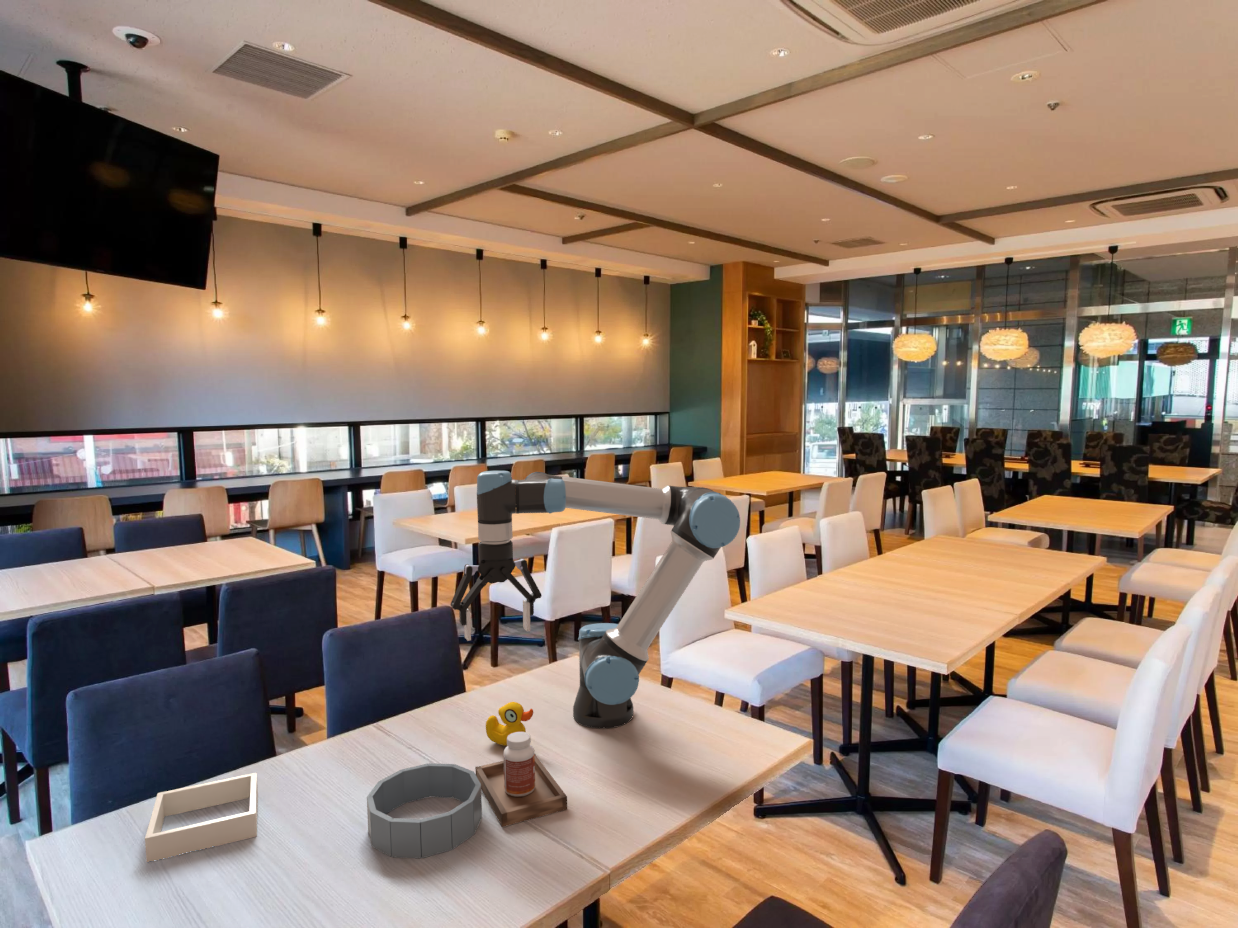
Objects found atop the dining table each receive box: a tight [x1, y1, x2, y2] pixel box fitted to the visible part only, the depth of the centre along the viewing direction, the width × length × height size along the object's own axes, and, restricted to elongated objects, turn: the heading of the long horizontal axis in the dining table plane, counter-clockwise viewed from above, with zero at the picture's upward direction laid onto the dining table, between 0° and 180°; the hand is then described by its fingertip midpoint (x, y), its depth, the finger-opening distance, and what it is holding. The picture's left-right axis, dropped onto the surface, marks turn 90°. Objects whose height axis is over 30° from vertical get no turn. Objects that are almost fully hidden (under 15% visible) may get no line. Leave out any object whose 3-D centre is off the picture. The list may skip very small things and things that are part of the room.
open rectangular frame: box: [144, 772, 259, 863], centre depth 135 cm, size 17×16×4 cm
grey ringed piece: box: [366, 762, 483, 859], centre depth 135 cm, size 20×20×6 cm
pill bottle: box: [503, 732, 536, 797], centre depth 144 cm, size 6×6×11 cm
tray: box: [475, 754, 568, 828], centre depth 145 cm, size 13×19×3 cm
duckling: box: [485, 701, 534, 747], centre depth 165 cm, size 11×5×10 cm, turn 79°
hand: (497, 634), depth 161 cm, fingers open, 13 cm apart
